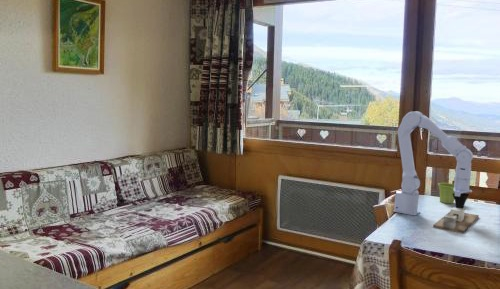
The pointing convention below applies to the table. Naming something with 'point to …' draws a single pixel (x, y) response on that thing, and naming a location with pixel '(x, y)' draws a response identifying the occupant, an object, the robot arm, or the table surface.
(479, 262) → the table surface
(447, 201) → the plant pot
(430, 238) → the table surface
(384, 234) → the table surface
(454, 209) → the sleeve
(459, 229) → the board
